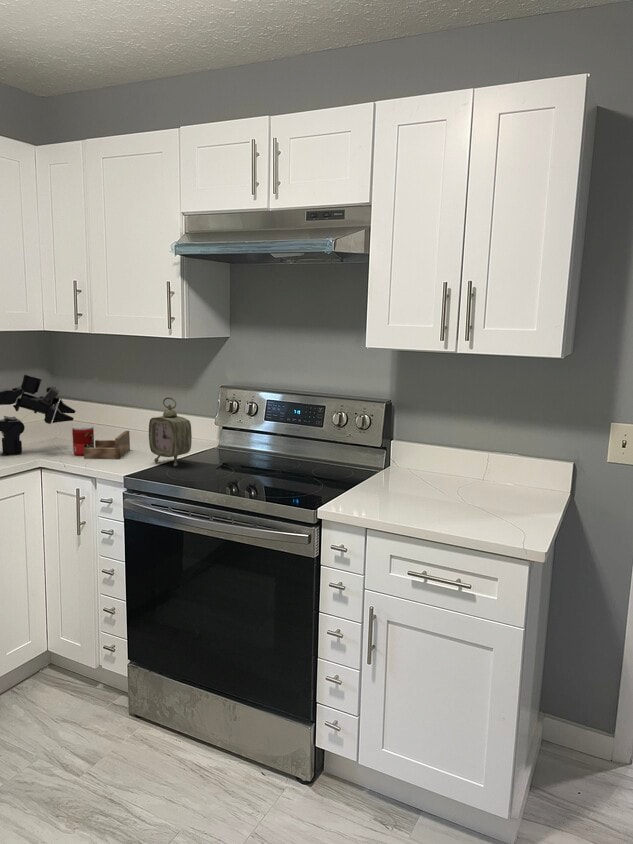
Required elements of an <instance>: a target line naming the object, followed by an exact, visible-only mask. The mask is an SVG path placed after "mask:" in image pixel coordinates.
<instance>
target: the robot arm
mask: <svg viewBox="0 0 633 844" xmlns="http://www.w3.org/2000/svg"><path fill="white" fill-rule="evenodd" d="M42 380H43V379H42V378H40V377H37V376H35V375H28V374H23V376H22V380H21V383H20V386H16V387H14V388H7V387H6V388H1V389H0V405H7V406H8V405H9V406H11V405H12V407H13V408H14V410H15V411H16V412H19V411H20V408H22V409H26V410H29V411H31V412H33V414H37V413H39V414H42V415H44V419H43V420H44V422H45V424H49V425H52V424H55V423H63V422H73V421H74V417H73V416H70V415H68V414H76V410H75V409H74V408H72V407H70V406H69V405H67V404H66V403H64V401H63V400H62V398H61V396H59V393H60V390H58V389H57V387H56V386H53V385H52V386H48V387H47V388H46V389H45V391H46V393H45V395H44V396H43V395H39V396H35V394H36V393H39V390H40V387H41V384H42ZM25 427H26V426H25V424H24V423H23V421H22V420H21V419H19V418H17V417H16V416H6V415H3V418H2V419H0V433H1V434H2V438H1V447H2V453H1V455H2V454H12V455H11V456H13V454H15V455H21V454H22V452H23V445H22V442H23V441H22V439H21V438H20V436H21V435H22V434H23V433H24V432H25V430H26V429H25Z"/></svg>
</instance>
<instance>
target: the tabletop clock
mask: <svg viewBox="0 0 633 844" xmlns="http://www.w3.org/2000/svg"><path fill="white" fill-rule="evenodd" d="M167 400H170V401H171V400H172V401H173V403H174V406H172V405H171V404H168V406H167V405H166V404H165V402H166V401H167ZM162 404H163V406H164V407H165V408H166V409H165V410H164V412H163V413H162V416H155V417H151V418H150V419H149V422H148V443H149V450H150V452H151V453H152V454H154V455H156V456H157V457H156V458H154V459H153V461H154V462H155V463H158V462H159V461H160V460H159V459H160V457H163V458H173V467H175V466H177V467H178V466H179V463H178V462H179V460H178V456H182V455H187V454H188V453H189V452H190V451H191V449H192V442H193V441H192V439H193V437H192V436H193V434H192V424H191V420H190V419H187V418H186V417H183V416H180V415H178V414H177V411H175V410H174V409H175V408H176V407H177V401H176V399H174V398H173V397H164V399H163V401H162ZM174 461H175V462H174Z"/></svg>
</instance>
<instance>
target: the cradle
mask: <svg viewBox="0 0 633 844" xmlns="http://www.w3.org/2000/svg"><path fill="white" fill-rule="evenodd" d="M130 438H131V437H130V430H124V431H123V432H121V433H120V434H119V435H118V436H117V437H115V438H114V439H96V440H95V439H94V448H84V456H83V459H87V460H89V459H92V460H93V459H95V460H98V459H102V460H108V459H109V460H110V459H111V460H115V459H116V460H121V459H122V458H123V457H124V456H125V455H126V454H127V453H128V452H129V451H131V445H130V444H131V443H130V442H131V441H130Z"/></svg>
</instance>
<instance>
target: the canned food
mask: <svg viewBox="0 0 633 844" xmlns="http://www.w3.org/2000/svg"><path fill="white" fill-rule="evenodd" d="M71 430H72V432H71V434H72V452H73V455H74V456H75V457H76V456H77V457H84V448H95V434H94V432H95V431H94V430H95V429H94V426H93V425H90V424H80V425H73V426H72V428H71Z"/></svg>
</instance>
